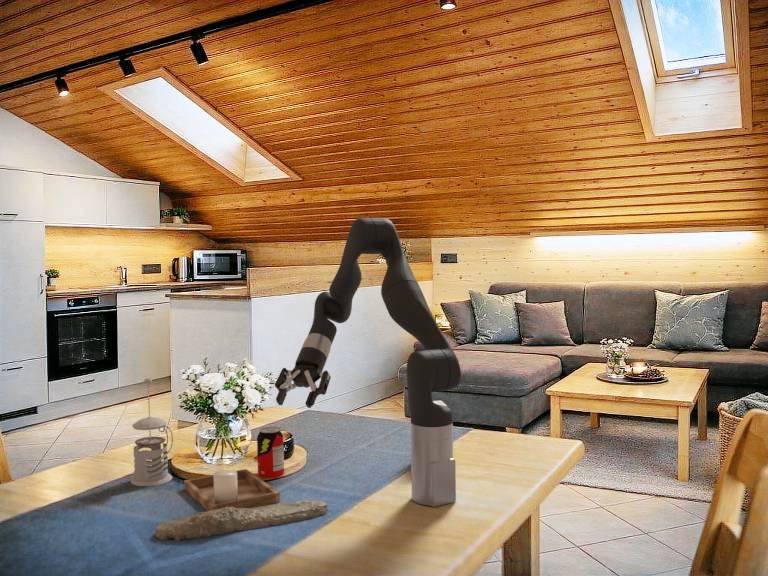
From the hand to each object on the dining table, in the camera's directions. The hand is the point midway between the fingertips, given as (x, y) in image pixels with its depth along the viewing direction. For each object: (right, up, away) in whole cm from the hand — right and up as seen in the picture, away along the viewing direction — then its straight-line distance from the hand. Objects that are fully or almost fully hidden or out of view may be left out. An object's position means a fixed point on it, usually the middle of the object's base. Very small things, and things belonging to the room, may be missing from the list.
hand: (293, 404), depth 189 cm
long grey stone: (-5, -19, -40) cm, 45 cm away
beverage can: (-4, -16, -10) cm, 20 cm away
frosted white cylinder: (-11, -17, -31) cm, 36 cm away
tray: (-11, -17, -24) cm, 32 cm away
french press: (-33, -17, -8) cm, 38 cm away
